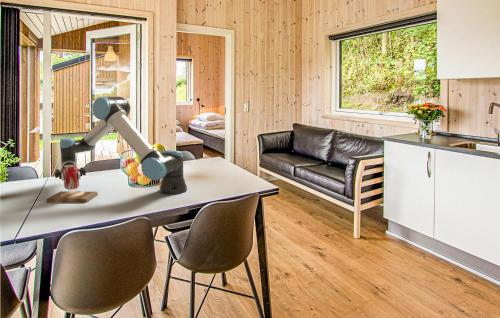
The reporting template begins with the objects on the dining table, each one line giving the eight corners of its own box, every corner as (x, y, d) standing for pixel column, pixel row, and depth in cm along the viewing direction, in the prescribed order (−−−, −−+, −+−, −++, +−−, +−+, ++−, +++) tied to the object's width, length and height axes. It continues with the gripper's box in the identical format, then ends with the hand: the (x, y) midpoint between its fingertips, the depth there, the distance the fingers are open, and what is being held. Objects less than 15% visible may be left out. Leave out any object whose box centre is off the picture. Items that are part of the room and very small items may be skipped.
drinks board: (97, 195, 188) (97, 190, 187) (86, 202, 175) (85, 197, 175) (60, 194, 188) (60, 190, 187) (46, 202, 175) (46, 197, 175)
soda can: (61, 188, 180) (59, 165, 178) (75, 185, 185) (73, 163, 183) (68, 191, 176) (66, 167, 173) (82, 188, 181) (80, 165, 179)
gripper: (89, 173, 200) (93, 182, 180) (49, 176, 191) (49, 186, 171) (88, 160, 199) (92, 168, 179) (48, 163, 189) (47, 171, 169)
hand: (71, 177), depth 175 cm, fingers closed on soda can, 7 cm apart
